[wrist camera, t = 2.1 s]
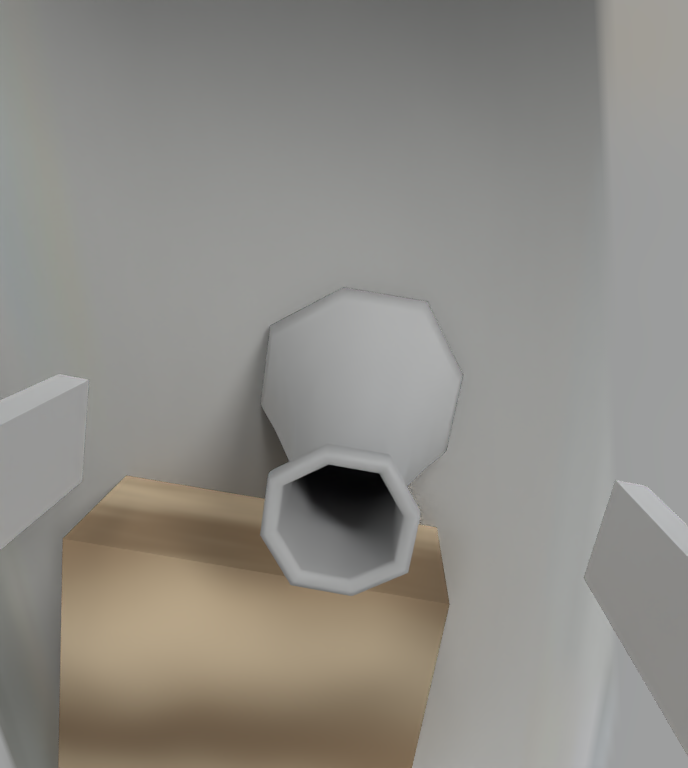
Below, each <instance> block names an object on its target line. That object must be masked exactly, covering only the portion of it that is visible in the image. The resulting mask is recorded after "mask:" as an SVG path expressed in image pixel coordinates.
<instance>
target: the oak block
mask: <svg viewBox="0 0 688 768" xmlns="http://www.w3.org/2000/svg"><path fill="white" fill-rule="evenodd" d="M264 501H265V499H263V498H257V497H251V496H245V495H239V494H233V493H227V492H221V491H215V490H209V489H203V488H197V487H192V486H186V485H180V484H174V483H168V482H162V481H156V480H150V479H144V478H138V477H132V476H125V477H124V478H123V479H122V480H121V481H120V482H119V483H118V484H117V485H116V486H115V487H114V488H113V489H112V490H111V491H110V492H109V493H108V494H107V495H106V496H105V497H104V498H103V499H102V500H101V501H100V502H99V503H98V504H97V505H96V506H95V507H94V508H93V509H92V510H91V511H90V512H89V513H88V514H87V515H86V516H85V517H84V518H83V519H82V520H81V521H80V522H79V523H78V524H77V525H76V526H75V527H74V528H73V529H72V530H71V531H70V532H69V533H68V534H67V535H66V536H65V537H64V538H63V552H62V603H61V655H60V706H59V758H58V768H412V765H413V760H414V756H415V752H416V747H417V743H418V739H419V734H420V730H421V726H422V721H423V717H424V713H425V708H426V704H427V700H428V695H429V691H430V687H431V682H432V678H433V674H434V669H435V665H436V661H437V656H438V652H439V648H440V643H441V639H442V635H443V630H444V626H445V621H446V617H447V613H448V608H449V598H448V592H447V587H446V581H445V575H444V569H443V563H442V557H441V551H440V545H439V539H438V533H437V527H431V526H425V525H418V530H417V534H416V539H415V544H414V548H413V553H412V557H411V562H410V567H409V571H408V573H406V574H404V575H402V576H399V577H397V578H394V579H392V580H390V581H387V582H385V583H382V584H380V585H378V586H375V587H373V588H370V589H368V590H366V591H363V592H361V593H358V594H356V595H354V596H348V595H343V594H337V593H332V592H326V591H320V590H315V589H309V588H304V587H298V586H293V585H290V583H289V581H288V580H287V578H286V577H285V575H284V573H283V572H282V570H281V568H280V567H279V565H278V564H277V562H276V560H275V559H274V557H273V555H272V554H271V552H270V550H269V549H268V547H267V546H266V544H265V542H264V541H263V539H262V537H261V536H260V531H261V524H262V516H263V509H264Z"/></svg>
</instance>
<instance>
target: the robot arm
mask: <svg viewBox="0 0 688 768" xmlns="http://www.w3.org/2000/svg"><path fill="white" fill-rule="evenodd" d="M88 392H89V379H83V378H78V377H73V376H68V375H62V374H58V375H55V376H53V377H51V378H49V379H46V380H44V381H42V382H40V383H37V384H35V385H33V386H31V387H28V388H26V389H24V390H22V391H20V392H17V393H15V394H13V395H11V396H8V397H6V398H4V399H2V400H0V550H1V549H2V548H3V547H5V546H6V545H7V544H8V543H9V542H11V541H12V540H13V539H14V538H15V537H16V536H18V535H19V534H20V533H21V532H22V531H24V530H25V529H26V528H27V527H28V526H30V525H31V524H32V523H33V522H34V521H35V520H37V519H38V518H39V517H40V516H41V515H43V514H44V513H45V512H46V511H47V510H49V509H50V508H51V507H52V506H53V505H55V504H56V503H57V502H58V501H59V500H60V499H62V498H63V497H64V496H65V495H66V494H68V493H69V492H70V491H71V490H72V489H74V488H75V487H76V486H77V485H78V484H79V483H81V482H82V477H83V463H84V449H85V434H86V420H87V406H88ZM584 579H585V581H586V583H587V584H588V586H589V588H590V590H591V591H592V593H593V595H594V596H595V598H596V600H597V602H598V603H599V605H600V607H601V608H602V610H603V612H604V614H605V615H606V617H607V619H608V620H609V622H610V624H611V626H612V627H613V629H614V631H615V632H616V634H617V636H618V638H619V639H620V641H621V643H622V644H623V646H624V648H625V650H626V651H627V653H628V655H629V656H630V658H631V660H632V661H633V663H634V665H635V667H636V668H637V670H638V672H639V673H640V675H641V677H642V678H643V680H644V682H645V684H646V685H647V687H648V689H649V691H650V692H651V694H652V696H653V697H654V699H655V701H656V703H657V704H658V706H659V708H660V709H661V711H662V713H663V714H664V716H665V718H666V720H667V721H668V723H669V725H670V727H671V728H672V730H673V732H674V733H675V735H676V737H677V738H678V740H679V742H680V744H681V745H682V747H683V749H684V751H685V752H686V754H687V755H688V526H687V524H685V522H684V521H683V520H681V519H680V518H679V517H678V516H677V515H676V514H675V513H674V512H673V511H672V510H671V509H670V508H669V507H668V506H667V505H666V504H665V503H664V502H663V501H662V500H661V499H660V498H659V497H658V496H657V495H655V494H654V493H653V492H652V491H651V490H650V489H649V488H648V487H647V486H645V485H639V484H634V483H629V482H623V481H618V480H615V483H614V486H613V489H612V492H611V495H610V498H609V501H608V504H607V507H606V510H605V514H604V517H603V520H602V523H601V526H600V529H599V532H598V535H597V538H596V541H595V544H594V548H593V551H592V554H591V557H590V560H589V563H588V566H587V569H586V572H585V575H584Z"/></svg>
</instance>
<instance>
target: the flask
mask: <svg viewBox="0 0 688 768" xmlns="http://www.w3.org/2000/svg"><path fill="white" fill-rule="evenodd" d="M462 378H463V373H462V371H461V369H460V367H459V365H458V363H457V361H456V359H455V357H454V355H453V353H452V351H451V349H450V347H449V345H448V343H447V341H446V339H445V337H444V335H443V333H442V331H441V328H440V326H439V324H438V322H437V320H436V318H435V316H434V314H433V312H432V310H431V308H430V306H429V304H428V302H427V301H422V300H416V299H410V298H404V297H398V296H393V295H387V294H381V293H375V292H369V291H363V290H357V289H351V288H345V287H343V288H341V289H339V290H337V291H335V292H333V293H331V294H329V295H327V296H326V297H324V298H322V299H320V300H318V301H316V302H314V303H312V304H310V305H308V306H307V307H305V308H303V309H301V310H299V311H297V312H295V313H293V314H291V315H289V316H288V317H286V318H284V319H282V320H280V321H278V322H276V323H274V324H272V325H270V332H269V340H268V348H267V356H266V364H265V372H264V380H263V387H262V395H261V405H262V408H263V410H264V412H265V413H266V415H267V417H268V419H269V420H270V422H271V424H272V425H273V427H274V429H275V431H276V433H277V435H278V437H279V440H280V442H281V444H282V446H283V449H284V451H285V453H286V455H287V457H288V460H289V462H288V463H286V464H283V465H281V466H279V467H277V468H275V469H273V470H272V471H270V472H269V475H268V479H267V486H266V494H265V501H264V509H263V516H262V524H261V531H260V536H261V537H262V539H263V541H264V542H265V544H266V546H267V547H268V549H269V550H270V552H271V554H272V555H273V557H274V559H275V560H276V562H277V564H278V565H279V567H280V568H281V570H282V572H283V573H284V575H285V577H286V578H287V580H288V581H289V583H290V585H293V586H298V587H304V588H309V589H315V590H320V591H326V592H332V593H337V594H343V595H348V596H354V595H356V594H358V593H361V592H363V591H366V590H368V589H370V588H373V587H375V586H378V585H380V584H382V583H385V582H387V581H390V580H392V579H394V578H397V577H399V576H402V575H404V574H406V573H408V571H409V567H410V562H411V557H412V553H413V548H414V544H415V539H416V534H417V530H418V525H419V520H420V509H419V507H418V506H417V504H416V502H415V500H414V498H413V496H412V494H411V493H410V491H409V489H408V487H407V486H408V485H409V484H410V483H411V482H412V481H413V480H414V479H415V478H416V477H417V476H418V475H419V474H420V473H421V472H422V471H423V470H424V469H425V468H426V467H428V466H429V465H430V464H431V463H433V462H434V461H435V460H437V459H438V458H439V457H440V456H442V455H443V454H444V453H445V452H446V450H447V446H448V441H449V437H450V432H451V428H452V423H453V419H454V414H455V410H456V405H457V401H458V396H459V392H460V387H461V383H462Z"/></svg>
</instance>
